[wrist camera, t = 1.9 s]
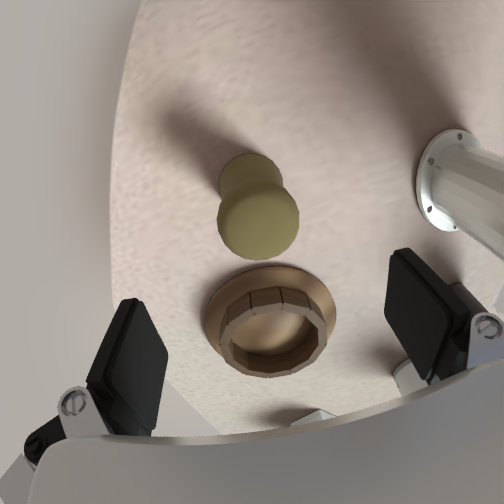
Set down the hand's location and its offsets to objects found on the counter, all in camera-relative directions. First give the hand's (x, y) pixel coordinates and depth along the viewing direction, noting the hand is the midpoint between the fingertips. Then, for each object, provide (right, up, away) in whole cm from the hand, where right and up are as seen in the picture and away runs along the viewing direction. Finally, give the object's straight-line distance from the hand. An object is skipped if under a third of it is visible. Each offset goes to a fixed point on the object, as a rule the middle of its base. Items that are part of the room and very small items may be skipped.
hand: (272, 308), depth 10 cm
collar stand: (+2, -7, +24) cm, 25 cm away
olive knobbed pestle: (-1, +8, +16) cm, 18 cm away
